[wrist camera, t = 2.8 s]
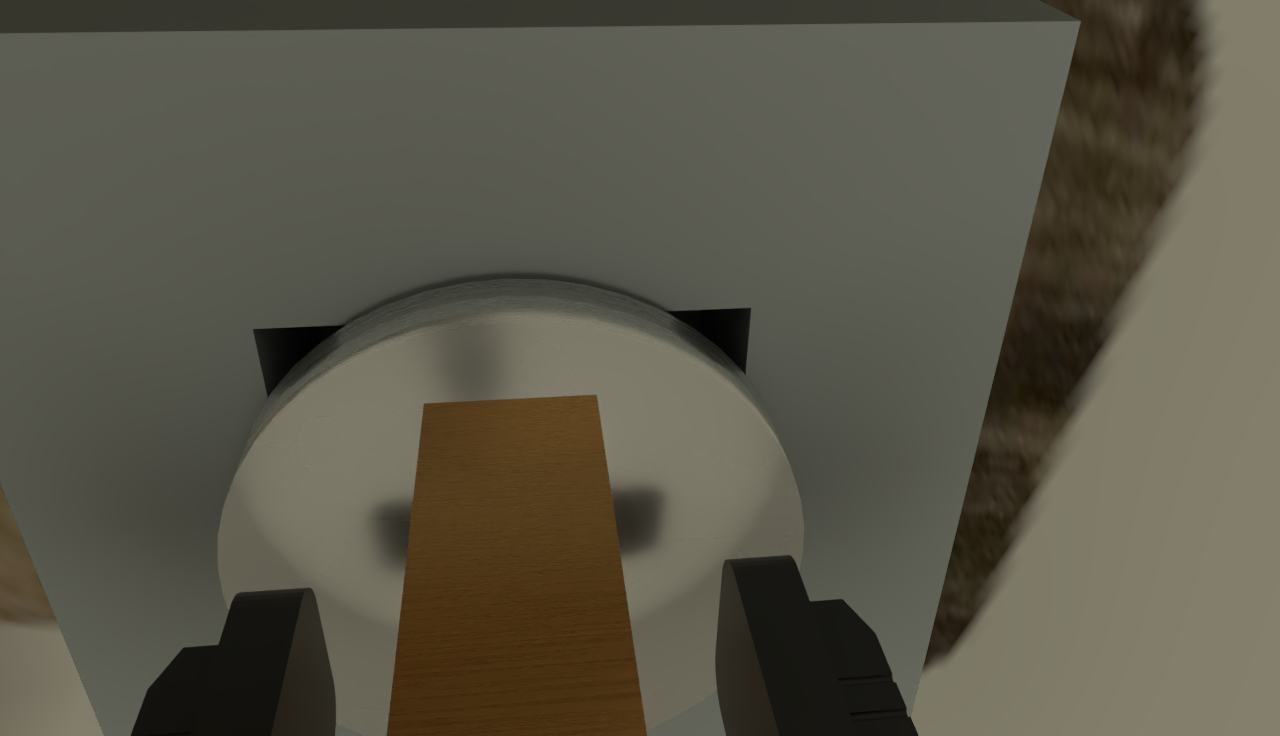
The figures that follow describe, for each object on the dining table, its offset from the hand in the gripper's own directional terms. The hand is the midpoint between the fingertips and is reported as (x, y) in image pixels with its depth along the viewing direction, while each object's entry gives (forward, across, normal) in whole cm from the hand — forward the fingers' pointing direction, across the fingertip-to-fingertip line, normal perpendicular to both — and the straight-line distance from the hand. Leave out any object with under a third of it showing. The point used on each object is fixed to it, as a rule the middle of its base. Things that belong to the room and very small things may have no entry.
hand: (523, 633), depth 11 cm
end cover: (+5, 0, 0) cm, 5 cm away
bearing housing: (+10, 0, 0) cm, 10 cm away
